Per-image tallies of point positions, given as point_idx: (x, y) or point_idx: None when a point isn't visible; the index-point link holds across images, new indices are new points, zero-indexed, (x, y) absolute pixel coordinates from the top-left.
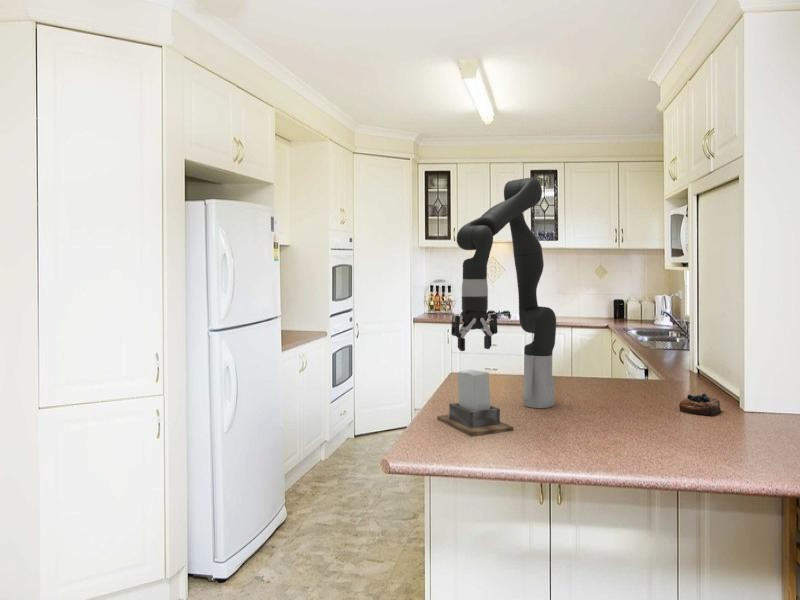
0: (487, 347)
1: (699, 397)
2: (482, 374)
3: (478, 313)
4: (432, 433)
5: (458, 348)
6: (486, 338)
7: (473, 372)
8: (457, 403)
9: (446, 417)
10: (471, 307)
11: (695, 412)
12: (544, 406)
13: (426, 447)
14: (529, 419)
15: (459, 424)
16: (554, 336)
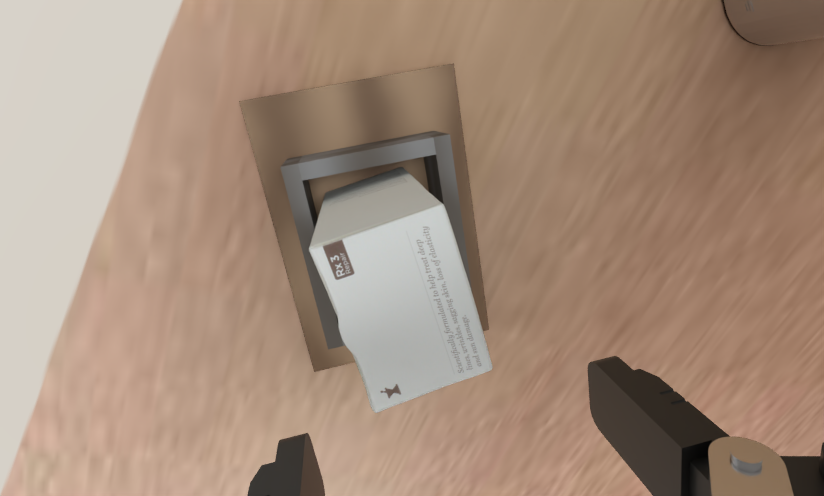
0: (599, 420)
1: None
2: (438, 387)
3: None
4: (176, 309)
5: (261, 470)
6: (661, 476)
7: (398, 341)
8: (323, 174)
9: (277, 141)
10: None
11: None
12: (773, 44)
13: (125, 455)
14: (612, 197)
15: (304, 263)
16: None
